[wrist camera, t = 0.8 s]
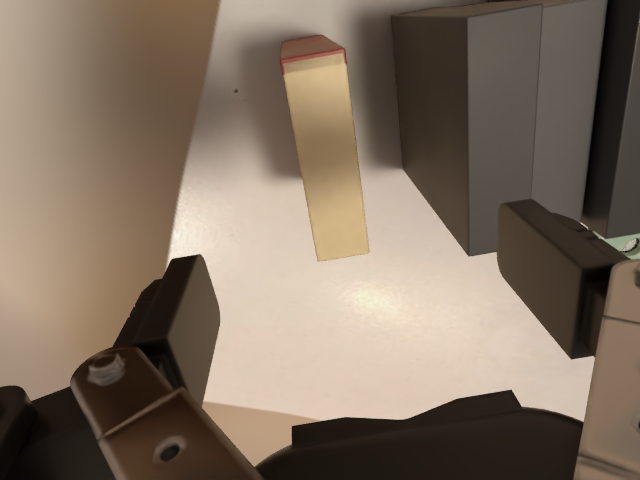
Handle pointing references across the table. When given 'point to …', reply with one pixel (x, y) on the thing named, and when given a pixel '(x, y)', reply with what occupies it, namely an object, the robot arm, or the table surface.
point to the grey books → (522, 112)
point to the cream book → (326, 144)
